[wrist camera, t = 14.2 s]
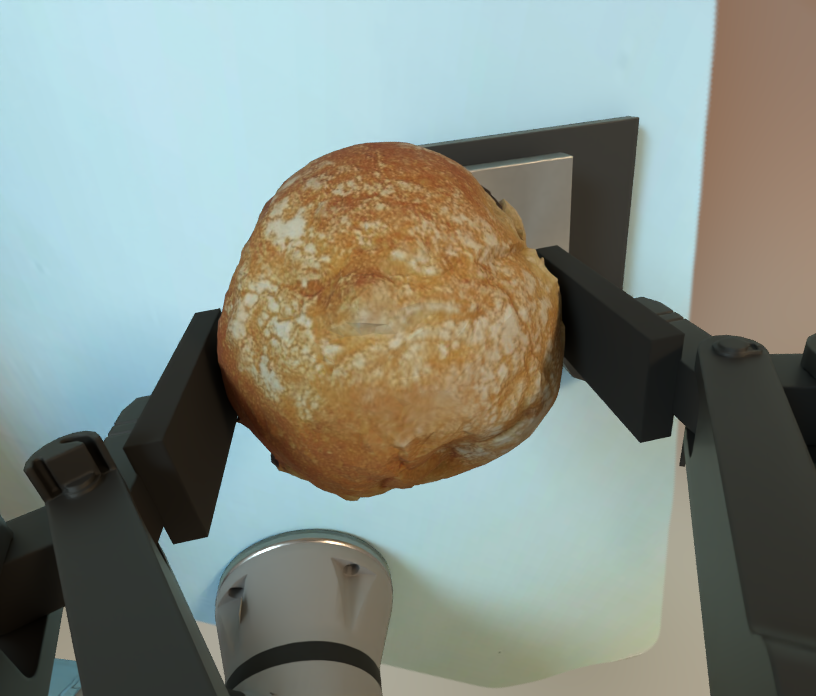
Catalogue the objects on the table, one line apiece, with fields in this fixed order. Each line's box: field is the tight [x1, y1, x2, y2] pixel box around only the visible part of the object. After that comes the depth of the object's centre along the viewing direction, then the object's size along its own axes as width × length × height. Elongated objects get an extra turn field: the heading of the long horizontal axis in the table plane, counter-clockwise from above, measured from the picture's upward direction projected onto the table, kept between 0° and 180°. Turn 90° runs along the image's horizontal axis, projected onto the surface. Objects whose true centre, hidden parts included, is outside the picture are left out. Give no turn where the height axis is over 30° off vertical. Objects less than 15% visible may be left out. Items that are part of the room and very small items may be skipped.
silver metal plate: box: [463, 152, 573, 253], centre depth 30 cm, size 10×6×2 cm, turn 7°
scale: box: [418, 116, 639, 381], centre depth 33 cm, size 17×15×3 cm
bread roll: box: [217, 142, 565, 501], centre depth 15 cm, size 10×10×8 cm
